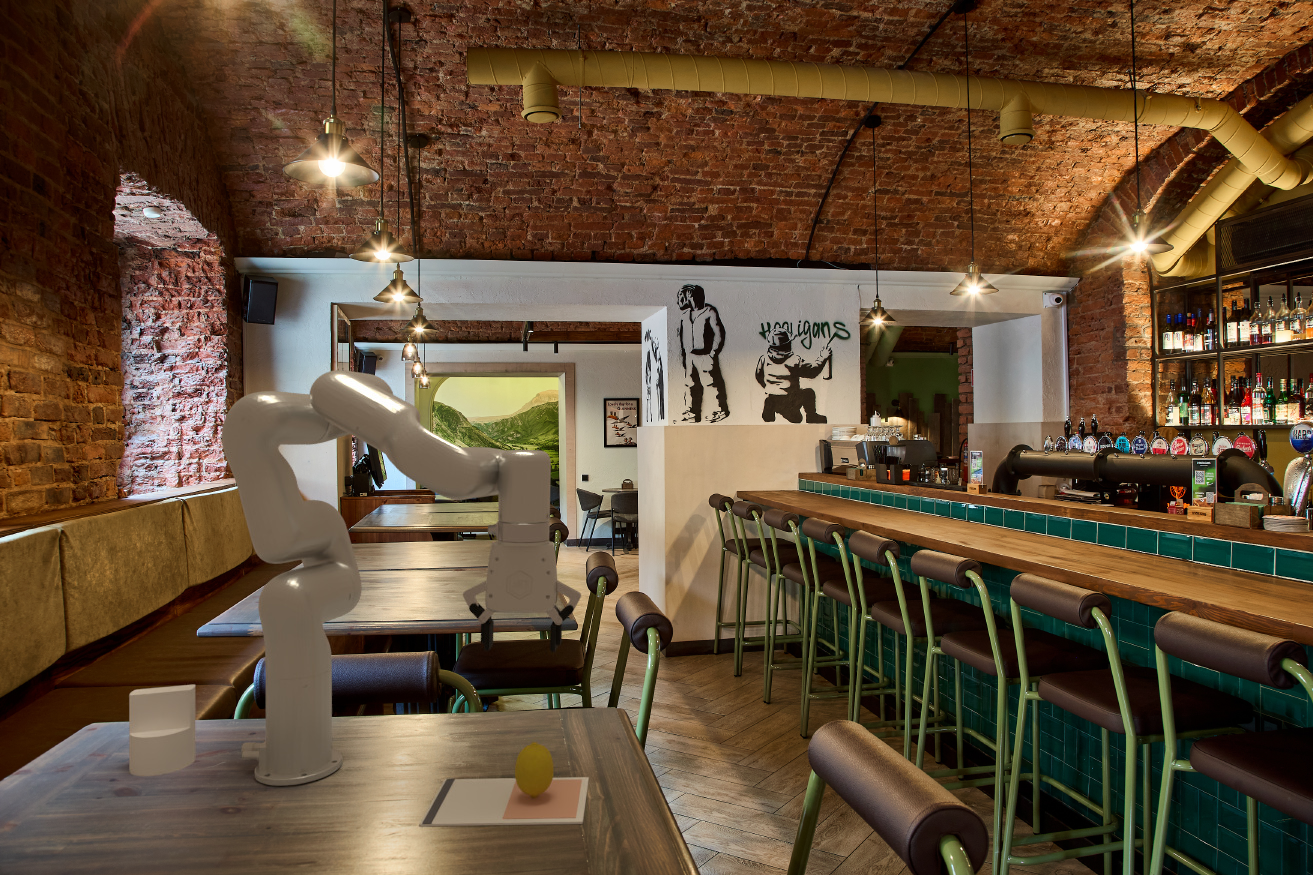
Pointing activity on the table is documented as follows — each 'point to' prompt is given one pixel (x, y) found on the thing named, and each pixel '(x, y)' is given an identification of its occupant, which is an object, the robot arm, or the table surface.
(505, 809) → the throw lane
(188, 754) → the base with upright slab
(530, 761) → the lemon
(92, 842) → the table surface
